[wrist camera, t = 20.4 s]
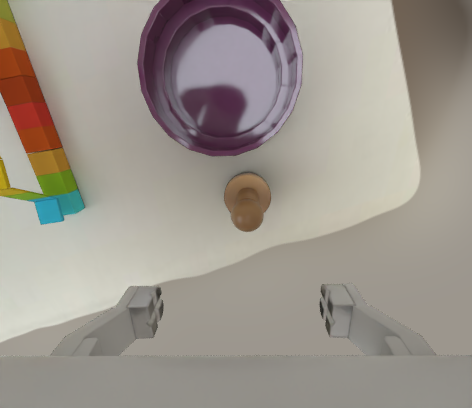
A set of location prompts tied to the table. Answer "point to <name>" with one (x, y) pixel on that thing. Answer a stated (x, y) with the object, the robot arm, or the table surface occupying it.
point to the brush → (247, 200)
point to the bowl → (220, 72)
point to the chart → (33, 130)
